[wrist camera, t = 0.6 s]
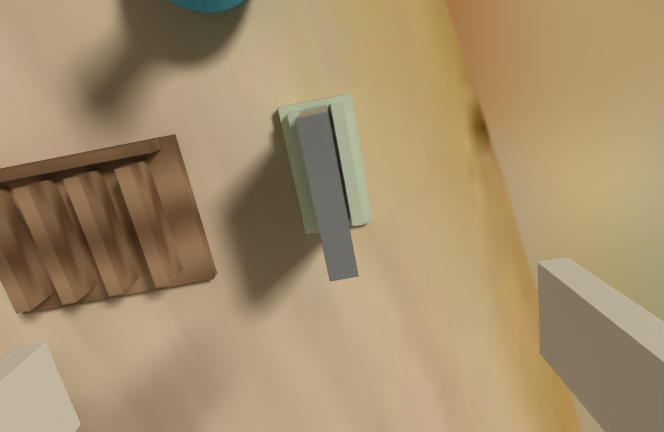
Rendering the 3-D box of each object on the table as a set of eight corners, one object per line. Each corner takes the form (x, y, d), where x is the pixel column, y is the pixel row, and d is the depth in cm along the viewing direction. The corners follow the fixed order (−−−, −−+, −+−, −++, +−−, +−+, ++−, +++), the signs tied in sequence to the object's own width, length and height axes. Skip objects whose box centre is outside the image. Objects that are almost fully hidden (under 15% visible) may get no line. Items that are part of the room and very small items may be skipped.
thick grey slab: (304, 109, 33) (295, 118, 22) (326, 104, 33) (327, 111, 22) (328, 224, 36) (329, 281, 25) (348, 221, 35) (358, 276, 25)
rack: (-30, 174, 35) (-78, 186, 30) (175, 134, 34) (154, 140, 30) (32, 307, 38) (-4, 333, 34) (217, 273, 38) (203, 296, 34)
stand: (278, 107, 33) (275, 108, 31) (350, 93, 33) (352, 93, 31) (306, 230, 37) (304, 241, 34) (371, 218, 37) (375, 228, 34)
